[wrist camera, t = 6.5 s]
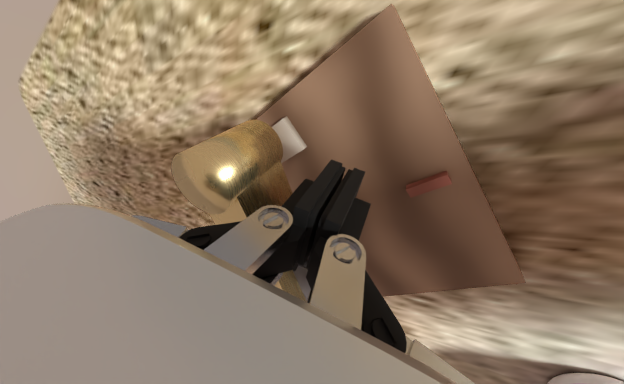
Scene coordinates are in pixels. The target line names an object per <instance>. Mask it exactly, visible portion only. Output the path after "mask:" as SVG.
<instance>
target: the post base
mask: <svg viewBox="0 0 624 384" xmlns="http://www.w3.org/2000/svg"><path fill="white" fill-rule="evenodd" d="M256 120H260V121H263V122H265V123H266V124H268V125H269V126H271V127H272V128H273V129H274V130H275V132H276V133H277V134H278V136H279V138H280V140H281V143H282V147H283V157H282V160H281V164H282V167H283V170H284V172H285V175H286V177H287V180H288V183H289V185H290V188H291V191H292V193H293V192H294V191H295V190H296V189H297V188H298V186H299V185H300V184H301V183H302V182H303V181H304V180H305V179H309V180H312V181H315V180H316V178H317V177H318V176H319V174H320V173H321V172H322V171H323V169H324V168H325V167H326V166H327V164H328V163H329V162H330V160H331V159H332V160H335V161H337V162H340V163H342V167H345V168H346V169H345V172H344V176H345V175H346V173H347V171H348V170H349V169H350V170H353V169H354V168H357V169H359V170H362V171H365V175H364V177H363V180H362V183H361V185H360V188H359V191H358V193H357V196H356V198H358V199H360V200H363V201H365V202H368V203H371V206H370V209H369V212H368V215H367V218H366V221H365V224H364V227H363V230H362V233H361V236H360V239H359V242H360V243H361V244H362V245H363V247H364V249H365V251H366V267H365V270H366V271H367V273H368V274H369V276H370V278H371V279H372V281H373V282H374V284H375V286H376V287H377V289H378V290H379V292H380V293H381V295H382V297H383V296H393V295H404V294H414V293H424V292H435V291H445V290H456V289H466V288H476V287H487V286H497V285H508V284H518V283H526V282H525V280H524V277H523V275H522V273H521V270H520V268H519V265H518V263H517V261H516V259H515V257H514V255H513V253H512V251H511V249H510V247H509V245H508V242H507V240H506V238H505V236H504V234H503V232H502V230H501V228H500V226H499V224H498V222H497V220H496V217H495V215H494V213H493V211H492V209H491V207H490V205H489V203H488V201H487V199H486V197H485V194H484V192H483V190H482V188H481V186H480V184H479V182H478V180H477V178H476V176H475V174H474V172H473V169H472V167H471V165H470V163H469V161H468V159H467V157H466V155H465V153H464V151H463V149H462V146H461V144H460V142H459V140H458V138H457V136H456V134H455V132H454V130H453V128H452V126H451V123H450V121H449V119H448V117H447V115H446V113H445V111H444V109H443V107H442V105H441V103H440V101H439V98H438V96H437V94H436V92H435V90H434V88H433V86H432V84H431V82H430V80H429V78H428V75H427V73H426V71H425V69H424V67H423V65H422V63H421V61H420V59H419V57H418V55H417V53H416V50H415V48H414V46H413V44H412V42H411V40H410V38H409V36H408V34H407V32H406V30H405V27H404V25H403V23H402V21H401V19H400V17H399V15H398V13H397V11H396V9H395V7H394V6H393V5H392V4H390V5H389V6H388V7H387V8H386V9H385V10H383V11H382V12H381V13H380V14H379V15H378V16H376V17H375V18H374V19H373V20H372V21H370V22H369V23H368V24H367V25H366V26H365V27H363V28H362V29H361V30H360V31H359V32H358V33H356V34H355V35H354V36H353V37H352V38H351V39H349V40H348V41H347V42H346V43H345V44H344V45H342V46H341V47H340V48H339V49H338V50H337V51H335V52H334V53H333V54H332V55H331V56H330V57H328V58H327V59H326V60H325V61H324V62H323V63H321V64H320V65H319V66H318V67H317V68H316V69H314V70H313V71H312V72H311V73H310V74H309V75H307V76H306V77H305V78H304V79H303V80H302V81H300V82H299V83H298V84H297V85H296V86H295V87H293V88H292V89H291V90H290V91H289V92H288V93H286V94H285V95H284V96H283V97H282V98H281V99H279V100H278V101H277V102H276V103H275V104H274V105H272V106H271V107H270V108H269V109H268V110H266V111H265V112H264V113H263V114H262V115H261V116H259V117H258V118H257V119H256ZM344 176H343V178H344ZM342 180H343V179H342Z"/></svg>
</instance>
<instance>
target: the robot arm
mask: <svg viewBox="0 0 624 384" xmlns="http://www.w3.org/2000/svg"><path fill="white" fill-rule="evenodd" d="M345 169H346V168H345V167H342V163H340V162H337V161H335V160H332V159H331V160H330V162H329V163H328V164H327V166H326V167H325V168H324V169H323V171H322V172H321V173H320V174H319V176H318V177H317V178H316V180H315V181H312V180H309V179H305V180H304V181H303V182H302V183H301V184H300V185H299V186H298V188H297V189H296V190H295V191H294V192H293V193H292V195H291V196H290V197H289V198H288V199H287V200H286V202H285V203H284V204H283V205H282V206H277V205H267V206H263V207H261V208H259V209H258V210H257V211H255V212H254V213H252V214H251V215H250V216H248V217H247V218H246V219H244V220H243V221H239V222H232V223H225V224H219V225H212V226H205V227H198V228H194V229H191V230H187V227H185V226H181V225H177V224H173V223H169V222H164V221H160V220H156V219H152V218H148V217H144V216H136V215H134V216H130V215H128V214H124V213H121V212H118V211H115V210H112V209H107V208H103V207H98V206H92V205H83V204H53V205H46V206H42V207H39V208H35V209H32V210H30V211H27V212H24V213H21V214H18V215H15V216H13V217H10V218H8V219H5V220H3V221H0V384H475V383H474V382H472V381H471V380H470V379H468V378H467V377H466V376H464V375H463V374H461V373H460V372H459V371H457V370H456V369H455V368H453V367H452V366H451V365H449V364H448V363H447V362H445V361H444V360H443V359H441V358H440V357H439V356H437V355H436V354H435V353H433V352H432V351H431V350H429V349H428V348H427V347H425V346H424V345H423V344H421V343H420V342H418V341H417V340H416V339H415V340H414V341H412V340H410V339H409V338H408V337H406V336H405V333H404V331H403V329H402V327H401V325H400V323H399V322H398V320H397V319H396V317H395V316H394V314H393V312H392V311H391V309H390V308H389V306H388V305H387V303H386V301H385V300H384V298H383V297H382V295H381V293H380V292H379V290H378V289H377V287H376V286H375V284H374V282H373V281H372V279H371V278H370V276H369V274H368V273H367V271H366V270H365V267H366V251H365V249H364V247H363V245H362V244H361V243H360V242H359V239H360V236H361V233H362V230H363V227H364V224H365V221H366V218H367V215H368V212H369V209H370V206H371V203H368V202H365V201H363V200H360V199H358V198H356V196H357V193H358V191H359V188H360V185H361V183H362V180H363V177H364V175H365V171H362V170H359V169H357V168H354V169H353V170H350V169H349V170H348V171H347V173H346V175H345V176H344V172H345ZM343 176H344V178H343ZM342 179H343V180H342ZM309 255H310V256H309ZM308 256H309V259H308V263H307V266H306V268H307V269H308V271H307V275H306V279H307V281H308V284H309V286H310V288H311V290H310V293H309V296H308V300H307V302H305V301H303V300H301V299H299V298H297V297H295V296H293V295H291V294H289V293H287V292H285V291H283V290H281V289H279V288H277V287H275V286H274V285H275V284H276V283H277V282H278V281H279V279H280V278H281V277H282V275H283V272H287V271H291V270H293V271H296V269H297V267H298V265H300V266H303V265H304V264H305V262H306V260H307V258H308Z"/></svg>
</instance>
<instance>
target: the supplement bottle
mask: <svg viewBox="0 0 624 384" xmlns="http://www.w3.org/2000/svg"><path fill="white" fill-rule="evenodd" d="M548 384H624V382H623V381H620V380H618V379H614V378H611V377H607V376H603V375H598V374H591V373H568V374H562V375H558V376H556V377H554V378H552V379H551V380H550V381H549V382H548Z"/></svg>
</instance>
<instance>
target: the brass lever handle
mask: <svg viewBox="0 0 624 384" xmlns="http://www.w3.org/2000/svg"><path fill="white" fill-rule="evenodd" d="M282 157H283V147H282V143H281V140H280V138H279V136H278V134H277V133H276V132H275V130H274V129H273V128H272V127H271V126H269V125H268V124H266V123H265V122H263V121H260V120H248V121H246V122H244V123H242V124H239V125H237V126H235V127H233V128H231V129H229V130H227V131H224V132H222V133H220V134H218V135H216V136H214V137H212V138H210V139H207V140H205V141H203V142H201V143H199V144H197V145H195V146H193V147H190V148H188V149H186V150H184V151H182V152H180V153H178V154H176V155H175V156H174V158H173V160H172V164H171V170H172V175H173V178H174V181H175V183H176V185H177V187H178V188H179V190H180V191H181V193H182V194H183V195H184V196H185V198H186V199H187V200H188V201H189V202H190V203H192V204H193V205H194V206H195V207H197V208H198V209H200V210H202V211H204V212H207V213H209V215H210V216H211V218H212V220H213V222H214V223H215V225H219V224H225V223H232V222H239V221H243V220H244V219H246V218H247V217H248V216H250V215H251V214H252V213H254V212H255V211H257V210H258V209H259V208H261V207H263V206H267V205H277V206H282V205H283V204H284V203H285V202H286V200H287V199H288V198H289V197H290V196H291V195H292V191H291V188H290V185H289V183H288V180H287V177H286V175H285V172H284V170H283V167H282V164H281V160H282ZM309 256H310V255H309ZM309 256H308V258H307V260H306V262H305V264H304V265H303V266H300V265H298V267H297V269H296V271H293V270H291V271H287V272H283V275H282V277H281V278H280V279H279V281H278V282H277V283H276V284H275V285H274V286H275V287H277V288H279V289H281V290H283V291H285V292H287V293H289V294H291V295H293V296H295V297H297V298H299V299H301V300H303V301H305V302H307V300H308V296H309V293H310V290H311V288H310V286H309V284H308V281H307V279H306V275H307V271H308V269H307V268H306V266H307V263H308V259H309Z"/></svg>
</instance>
